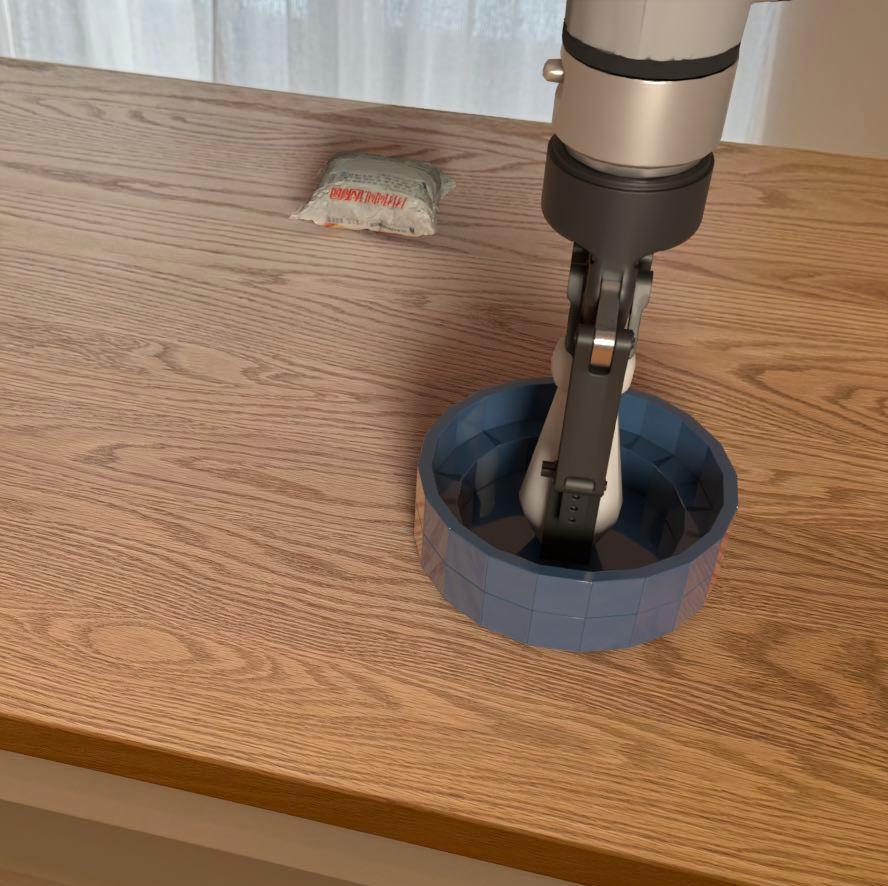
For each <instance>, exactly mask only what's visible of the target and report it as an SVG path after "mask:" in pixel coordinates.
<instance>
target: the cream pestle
mask: <svg viewBox="0 0 888 886" xmlns="http://www.w3.org/2000/svg"><path fill="white" fill-rule="evenodd" d="M565 337H566V334H565V335H564V336H562V337H561V338H559V339H558V341H557V343H556V345H555V347H554V350H553V353H552V355H551V358H550V373H551V376H553V379H554V381H555V384H556V385H557V386H558V388H557V391H556V394H555V396H554V399H553V402H552V405H551V407H550V410H549V413H548V415H547V418H546V421H545V424H544V426H543V429H542V432H541V435H540V437H539V440H538V443H537V445H536V448H535V451H534V454H533V456H532V459H531V462H530V464H529V467H528V470H527V473H526V475H525V478H524V481H523V484H522V486H521V489H520V492H519V500H520V503H521V506H522V509H523V512H524V515H525V517H526V519H527V520H528V523H529V525H530V527H531V528H532V530H533V531H534V533H535V534H536V536H537V538H538V539H539V541H540V542H541V544H542V537H543V531H544V524H545V518H546V511H547V504H548V498H549V491H550V485H551V478H550V477H542V476H541V469H542V462H543V461H551V462H554V461H556V460H558V453H559V446H560V439H561V433H562V426H563V419H564V413H565V406H566V399H567V392H568V386H569V379H570V372H571V366H572V359H573V357H572V355H571V354H569V353H568V352H567V351H566V349H565ZM636 358H637V356H636V352H635V353H634V356H633V357H632V358H631V359H629V360H628V364H627V369H626V373H625V378H624V383H623V389H622V393H624V392H625V391H627V389H628V388H629V387H631V384H632V380H633V378H634V374H635V370H636V366H637V359H636ZM606 481H607V489H606V491H604V495H603V496H602V497H601V500H600V505H599V510H598V515H597V521H596V526H595V531H594V536H593V542H592V545H593V544H595V543H597V542H599V541H600V540H601V539H602V538H603V536H604V535H605V534H606V533H607V532H608V531H609V530H610V529H611V528H612V526H613V525H614V524H615V523H616V521H617V518H618V516H619V512H620V509H621V506H622V502H623V500H622V479H621V458H620V437H619V416H617V421H616V426H615V432H614V437H613V442H612V448H611V453H610V458H609V464H608V469H607V475H606Z"/></svg>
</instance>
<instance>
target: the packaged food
mask: <svg viewBox="0 0 888 886" xmlns="http://www.w3.org/2000/svg"><path fill="white" fill-rule="evenodd" d="M316 175H317V176H316V178H317V179H316V181H319V182H318V184H317V186H316V187H315V189H314V191H313V193H312V195H311V196H310V197H309V198H308V199H306V200H304V201H303V202H302V203H301V204H300V205H298V206H297V207H296V208H295V209H294V210H292V211H291V213H290V215H289V218H288V219H290V220H298V219H300V220H305V221H311V220H312V221H313V223H314V224H316V225H318V226H320V227H323V228H327V229H328V228H329V229H330V228H331V229H340V230H341V229H342V230H352V231H353V230H354V231H371V232H373V233H375V234H379V235H393V236H405V237H414V238H418V237H420V236H423V235H424V236H426V237H427V236H434V235H435V234H436V232H437V228H438V220H437V218H438V215H437V213H440V214H442V211H441V208H440V202H441V200H442V199H444V198H445V197H446V195H447V194H448V193H451V192H452V190H453V189H457V185H458V183H457V182H456V181H455V180H454V179H453V178H452V177H450V176H449V175H448V174H446V173H445V171H443V170H442V169H441V168H439V167H437V166H436V165H434V164H433V163H431V162H430V161H427V160H421V159H412V158H407V157H398V156H384V155H382V154H375V153H368V152H361V151H358V150H357V151H356V150H355V151H354V150H349V151H347V150H346V151H339V152H336V153H334V154H333V155H332V156H331V157H329V159H328V160H327V161H324V166H323V167H322V168H321V167H320V168H319V170H318V172H316Z"/></svg>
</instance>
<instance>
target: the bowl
mask: <svg viewBox="0 0 888 886" xmlns="http://www.w3.org/2000/svg"><path fill="white" fill-rule="evenodd" d="M557 388H558V386H557V385H556V384H555V381H554V379H553V376H552V375H551V376H537V377H520V378H515V379H512V380H509V381H506V382H501V383H499V384H495V385H491V386H488V387H484V388H481V389H478V390H476V391H474V392H472V393H471V394H469V395H467V396H466V397H465V398H463V399H460V400H459V401H457V402H456V403H454V404H453V405H451V406H449V407H447V408H446V409H445V410H444V411H443V412H442V414H441V415H440V416H439V417H438V418H437V420H436V421H435V422H434V423H433V424H432V426H431V427H430V428H429V429H428V431H427V432H425V434H424V437H423V442H422V445H421V449H420V452H419V458H418V461H417V465H416V466H417V467H416V483H415V484H416V486H415V501H414V504H415V505H414V523H413V537H414V541H415V545H416V546H415V547H416V550H417V555H418V560H419V564H420V567H421V569H422V570H423V571H424V573H425V574H426V576H427V577H428V578H429V580H430V582H431V583H432V584H433V585H434V587H435V589H436V590H437V591H438V593H439V594H440V595H441V597H442V598H443V600H444V601H446V602H447V603H448V604H450V605H451V606H452V607H453V608H455V609H456V610H458V611H459V612H460V613H462V614H463V615H464V616H466V617H467V618H468V619H470V620H471V621H472V622H474V623H475V624H477V626H479V627H481V628H484V629H487V630H489V631H491V632H494V633H497V634H500V635H501V636H504V637H507V638H508V639H512V640H514V641H517V642H519V643H520V644H521V643H522V644H523V645H528V646H532V647H539V648H545V649H553V650H560V651H566V652H572V653H589V652H601V651H603V652H604V651H613V650H624V649H626V650H627V649H631V648H634V647H637V646H639V645H642V644H645V643H647V642H651V641H653V640H656V639H658V638H662V637H664V636H667V635H670V634H672V633H674V632H675V631H676V630H677V629H679V628H681V626H683V624H685V623H686V622H687V621H689V620H690V619H691V618H692V617H694V615H696V614H697V613H698V612H699V611H700V610H702V609H703V608H704V606H705V604H706V602H707V600H708V599H709V596H710V595H711V592H712V591H713V588H714V586H715V584H716V583H717V580H718V579H719V575H720V572H721V568H722V565H723V562H724V558H725V555H726V552H727V548H728V544H729V541H730V537H731V535H732V531H733V527H734V524H735V520H736V516H737V513H738V510H739V484H738V483H739V480H738V478H739V477H738V473H737V471H736V469H735V468H734V466H733V463H732V462H731V460H730V458H729V456H728V454H727V452H726V450H725V448H724V446H723V445H722V443H721V442H720V441H719V440H718V439H717V438H716V437H715V436H714V435H713V434H711V432H710V431H708V430H707V429H706V428H705V427H704V425H702V424H701V423H700V422H699V421H698V420H696V418H695V417H694V416H692V415H691V414H690V413H688V412H687V411H684V410H683V409H681V408H680V407H677V406H676V405H673V404H672V403H670V402H668V401H666V400H665V399H663V398H661V397H659V396H657V395H655V394H653V393H650V392H646V391H643V390H641V389H637V388H633V387H631V386H629V388H628V389H627V391H625V392H624V393H622V394H621V400H620V405H619V410H618V416H619V437H620V458H621V479H622V500H623V502H622V506H621V509H620V512H619V516H618V518H617V521H616V523H615V524H614V525H613V526H612V528H611V529H610V530H609V531H608V532H607V533H606V534H605V535H604V536H603V538H602V539H601V540H600V541H599V542H597V543H595V544H593V545H592V547H591V552H590V557H589V563H588V565H583V564H576V563H569V562H562V561H555V560H548V559H541V558H540V551H541V542H540V541H539V539H538V538H537V536H536V534H535V533H534V531H533V530H532V528H531V527H530V525H529V523H528V520H527V519H526V517H525V515H524V512H523V509H522V506H521V503H520V500H519V492H520V489H521V486H522V484H523V481H524V478H525V475H526V473H527V470H528V467H529V464H530V462H531V459H532V456H533V454H534V451H535V448H536V445H537V443H538V440H539V437H540V435H541V432H542V429H543V426H544V424H545V421H546V418H547V415H548V413H549V410H550V407H551V405H552V402H553V399H554V396H555V394H556V391H557Z"/></svg>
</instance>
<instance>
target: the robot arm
mask: <svg viewBox="0 0 888 886" xmlns="http://www.w3.org/2000/svg"><path fill="white" fill-rule="evenodd" d="M791 1H792V0H566V1H565V11H564V12H565V13H564V18H563V22H562V31H561V45H560V52H559V55H560V58H548V59H547V60H546V61H545V62H544V64H543V68H542V77H543V78H544V80H546V82H549V83H550V82H551V83H555V84H557V86H556V88H555V92H554V98H553V108H552V116H551V126H552V131H553V134H552V135H551V137H550V139H549V140H548V143H547V148H546V155H545V156H546V157H545V163H544V173H543V181H542V189H541V199H540V208H541V212H542V216H543V217H544V219H545V221H546V223H547V224H548V226H549V227H551V228H552V230H553V231H555V233H557V234H558V235H559V236H561V237H562V238H564V239H566V240H567V241H569V242H572V243H573V244H572V251H571V258H570V266H569V272H568V281H567V287H566V297H567V300H568V301H569V309H568V316H567V323H566V331H565V335H566V337H565V349H566V351H567V352H568V353H569V354H571V355H572V357H573V359H572V366H571V372H570V379H569V386H568V392H567V399H566V406H565V413H564V419H563V426H562V433H561V439H560V446H559V453H558V460H556V461H554V462H551V461H543V462H542V469H541V476H542V477H550V478H551V485H550V491H549V498H548V504H547V511H546V518H545V524H544V531H543V537H542V544H541V551H540V558H541V559H548V560H555V561H562V562H569V563H576V564H583V565H588V563H589V557H590V552H591V547H592V542H593V536H594V531H595V526H596V521H597V515H598V510H599V505H600V500H601V497H602V496H603V495H604V491H606V489H607V481H606V475H607V469H608V464H609V458H610V453H611V448H612V442H613V437H614V432H615V426H616V421H617V416H618V410H619V405H620V400H621V394H622V389H623V383H624V378H625V373H626V369H627V364H628V360H629V359H631V358H632V357H633V356H634V353H635V354H636V349H637V343H638V336H639V332H640V325H641V319H642V314H643V311H644V310H645V309H646V308H647V307H648V305H649V303H650V299H651V292H652V287H653V281H654V274H655V273H654V270H652V266H653V261H654V255H655V254H656V253H658V252H665V251H669V250H671V249H674V248H677V247H678V246H680V245H682V244H684V243H686V242H687V241H688V240H690V239H691V238H692V237H693V236H695V234H696V233H697V232H698V230H699V228H700V226H701V224H702V221H703V219H704V218H703V217H704V213H705V209H706V204H707V200H708V199H707V198H708V196H709V195H708V194H709V191H710V185H711V181H712V177H713V173H714V169H715V168H714V167H715V161H716V159H715V155H714V152H713V151H714V150H716V149H717V148H718V147H719V145H720V143H721V140H722V138H723V133H724V129H725V124H726V119H727V116H728V115H727V114H728V111H729V106H730V103H731V102H730V101H731V98H732V92H733V87H734V84H735V78H736V74H737V70H738V66H739V59H740V52H741V44H742V40H743V36H744V33H745V30H746V29H745V28H746V25H747V21H748V18H749V14H750V11H751V7H752V5H754V4H759V3H776V2H791ZM626 325H627V327H626Z"/></svg>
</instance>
